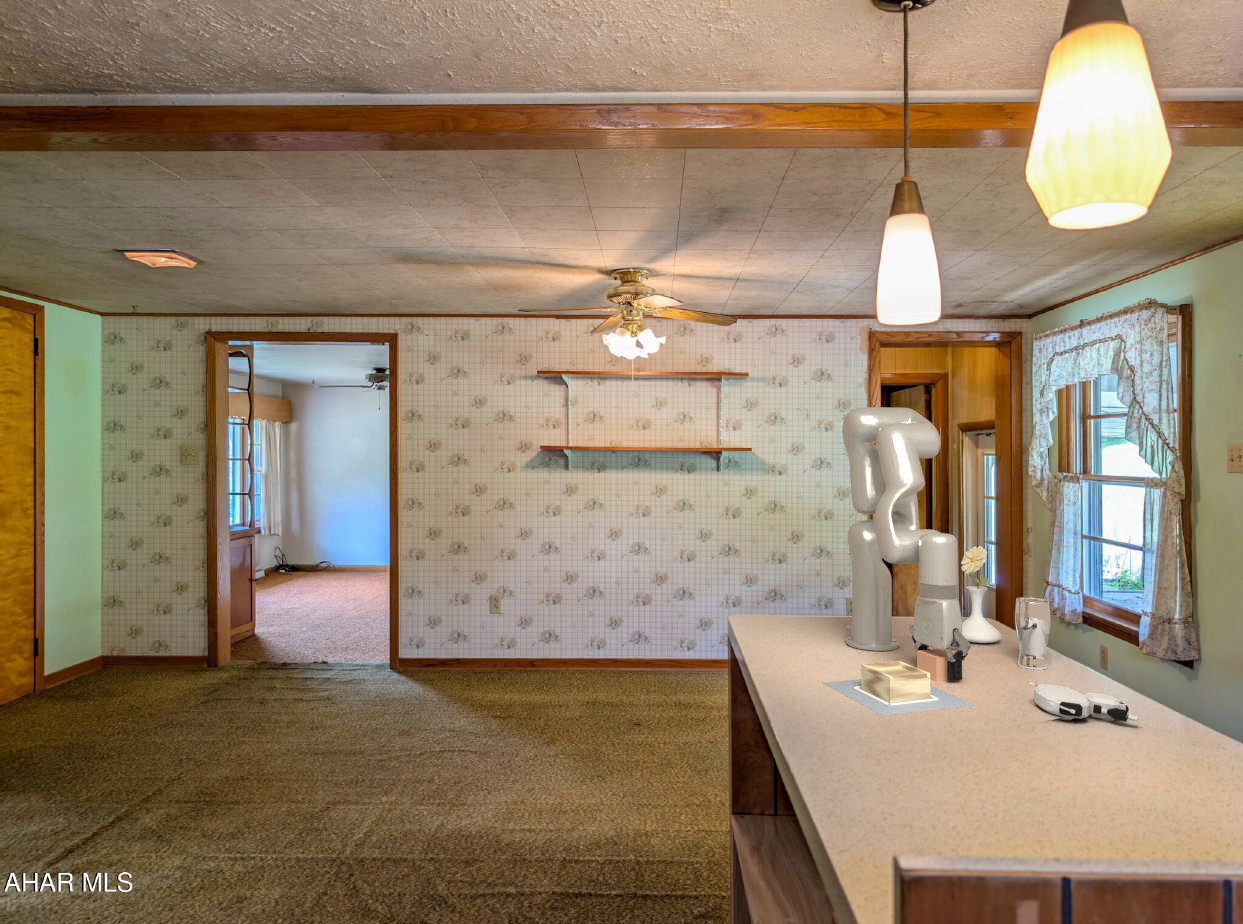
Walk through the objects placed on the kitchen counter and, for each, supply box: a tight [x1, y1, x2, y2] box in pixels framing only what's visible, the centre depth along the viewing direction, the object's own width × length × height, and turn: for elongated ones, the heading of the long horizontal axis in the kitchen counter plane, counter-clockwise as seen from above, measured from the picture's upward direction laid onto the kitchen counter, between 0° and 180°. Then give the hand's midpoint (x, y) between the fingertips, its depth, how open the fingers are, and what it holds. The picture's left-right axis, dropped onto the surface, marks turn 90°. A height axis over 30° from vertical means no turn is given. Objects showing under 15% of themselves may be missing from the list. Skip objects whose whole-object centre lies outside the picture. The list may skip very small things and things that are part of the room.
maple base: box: [860, 660, 931, 703], centre depth 141 cm, size 9×9×5 cm
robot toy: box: [1029, 682, 1140, 723], centre depth 131 cm, size 12×4×15 cm
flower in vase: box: [960, 545, 1003, 644], centre depth 186 cm, size 13×11×25 cm
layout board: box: [822, 678, 976, 717], centre depth 141 cm, size 20×20×1 cm
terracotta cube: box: [916, 648, 955, 683], centre depth 153 cm, size 6×6×6 cm
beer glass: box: [1014, 596, 1052, 671], centre depth 163 cm, size 7×7×15 cm
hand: (938, 673), depth 152 cm, fingers open, 8 cm apart
